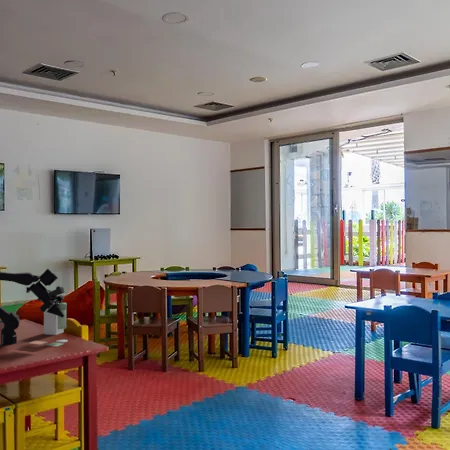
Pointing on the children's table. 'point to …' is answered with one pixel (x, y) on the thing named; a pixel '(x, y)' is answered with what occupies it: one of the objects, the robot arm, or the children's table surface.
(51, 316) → the milk carton
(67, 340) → the white flat rectangular board
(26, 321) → the children's table surface
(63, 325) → the green joystick knob
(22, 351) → the children's table surface
